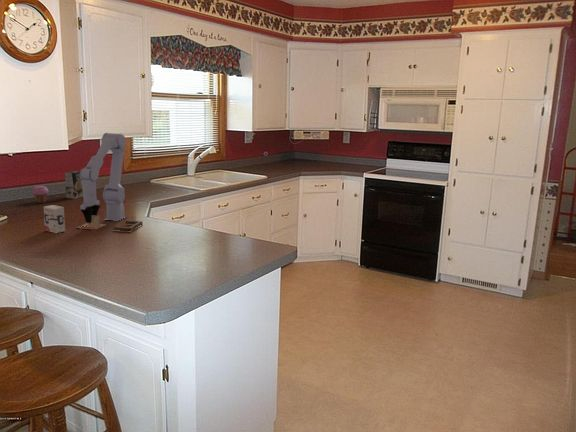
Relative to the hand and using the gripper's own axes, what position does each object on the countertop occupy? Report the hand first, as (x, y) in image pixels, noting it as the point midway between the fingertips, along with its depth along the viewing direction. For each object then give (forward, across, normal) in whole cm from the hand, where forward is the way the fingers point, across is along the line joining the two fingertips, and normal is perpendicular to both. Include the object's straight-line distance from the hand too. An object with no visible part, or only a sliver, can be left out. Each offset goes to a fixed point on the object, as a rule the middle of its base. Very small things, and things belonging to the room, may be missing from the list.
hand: (91, 221), depth 227 cm
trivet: (+3, 0, 0) cm, 3 cm away
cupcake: (+3, +47, +56) cm, 73 cm away
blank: (+2, 0, -1) cm, 3 cm away
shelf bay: (+3, +3, -16) cm, 17 cm away
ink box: (+3, -12, +11) cm, 17 cm away
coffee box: (+3, +68, +47) cm, 83 cm away
